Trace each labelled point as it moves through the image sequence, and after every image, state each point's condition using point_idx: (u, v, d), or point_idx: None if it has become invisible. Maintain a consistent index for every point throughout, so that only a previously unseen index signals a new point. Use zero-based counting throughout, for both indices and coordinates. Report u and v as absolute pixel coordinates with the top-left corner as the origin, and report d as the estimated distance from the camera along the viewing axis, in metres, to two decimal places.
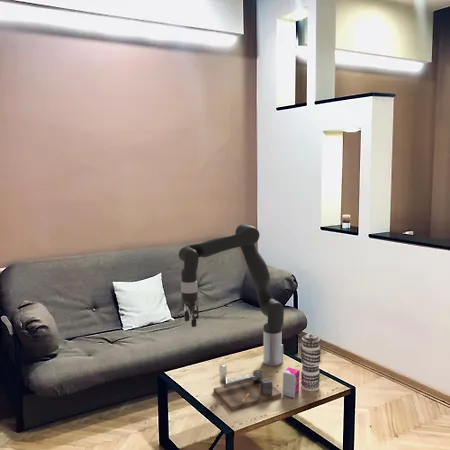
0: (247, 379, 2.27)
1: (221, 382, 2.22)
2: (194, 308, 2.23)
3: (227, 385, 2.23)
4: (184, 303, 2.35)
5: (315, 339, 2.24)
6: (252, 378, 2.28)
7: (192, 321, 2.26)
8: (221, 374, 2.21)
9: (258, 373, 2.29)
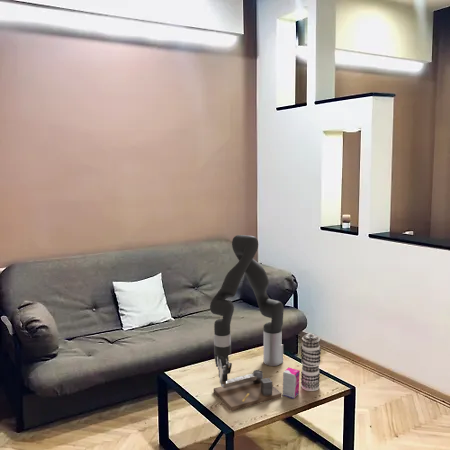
0: (247, 379, 2.27)
1: (221, 382, 2.22)
2: (228, 366, 2.15)
3: (227, 385, 2.22)
4: (217, 358, 2.26)
5: (315, 339, 2.24)
6: (252, 378, 2.28)
7: (223, 376, 2.20)
8: (221, 374, 2.21)
9: (258, 373, 2.29)
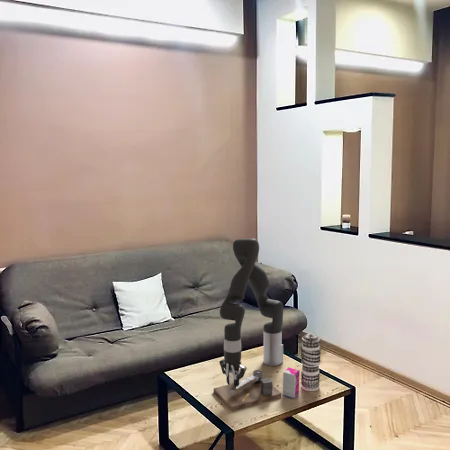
0: (252, 381, 2.25)
1: (232, 388, 2.16)
2: (243, 370, 2.11)
3: (237, 390, 2.18)
4: None
5: (315, 339, 2.24)
6: (255, 379, 2.27)
7: (235, 381, 2.15)
8: (232, 380, 2.15)
9: (259, 373, 2.30)
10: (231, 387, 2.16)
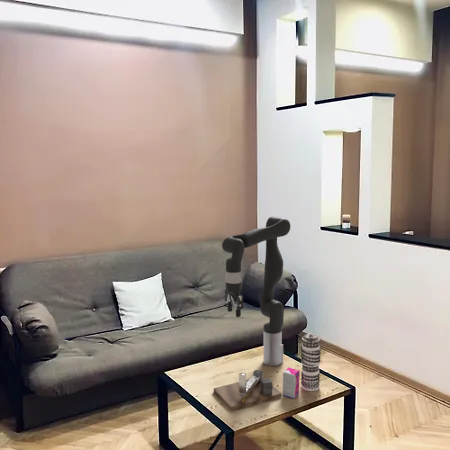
0: (255, 381, 2.25)
1: (243, 391, 2.13)
2: (239, 298, 2.24)
3: (247, 393, 2.16)
4: None
5: (315, 339, 2.24)
6: (257, 379, 2.27)
7: (237, 311, 2.27)
8: (243, 383, 2.13)
9: (260, 373, 2.30)
10: (242, 390, 2.13)
